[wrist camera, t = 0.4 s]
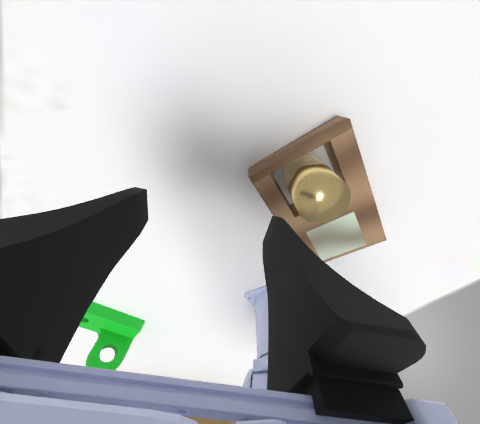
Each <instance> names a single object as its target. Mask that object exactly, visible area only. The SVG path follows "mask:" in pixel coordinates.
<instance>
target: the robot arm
mask: <svg viewBox="0 0 480 424" xmlns="http://www.w3.org/2000/svg"><path fill="white" fill-rule="evenodd" d="M147 221H148V206H147V190H146V189H141V188H137V187H134V188H130V189H126V190H123V191H120V192H116V193H113V194H110V195H107V196H104V197H101V198H98V199H94V200H91V201H87V202H84V203H80V204H77V205H73V206H69V207H65V208H61V209H56V210H51V211H47V212H42V213H36V214H30V215H24V216H18V217H12V218H5V219H0V424H198V423H197V421H194V420H192V419H189V418H187V417H184V416H190V417H199V418H207V419H216V420H225V421H234V422H236V423H235V424H459V423H458V422H457V421H456V419H455V417H454V416H453V414H452V413H451V411H450V409H449V408H448V406H447V405H446V404H444V403H442V402H435V401H428V400H420V399H406V400H404V399H403V397H402V395H401V393H400V391H399V389H398V388H403V383H402V381H401V379H400V377H399V376H398V374H397V373H398V372H400V371H402V370H404V369H405V368H407V367H409V366H411V365H412V364H414V363H416V362H417V361H418V360H420V359H421V358H422V357H423V356H424V354H425V351H426V345H425V344H424V342H423V341H422V339H421V338H420V336H419V335H418V333H417V332H416V330H415V329H414V328H413V326H412V325H411V323H410V322H409V320H408V319H407V318H405V317H404V316H402V315H400V314H398V313H397V312H395V311H393V310H392V309H390V308H388V307H386V306H385V305H383V304H381V303H380V302H378V301H376V300H375V299H373V298H372V297H370V296H369V295H367V294H366V293H364V292H363V291H361V290H360V289H358V288H357V287H355V286H354V285H352V284H351V283H350V282H348V281H347V280H346V279H344V278H343V277H342V276H340V275H339V274H338V273H337V272H335V271H334V270H333V269H332V268H330V267H329V266H328V265H327V264H326V263H325V262H324V261H322V260H321V259H320V258H319V257H318V256H317V255H316V254H315V253H314V252H313V251H312V250H311V249H310V248H309V247H308V246H307V245H306V244H305V243H304V242H303V240H302V239H301V238H300V237H299V236H298V235H297V234H296V232H295V231H294V230H293V229H292V228H291V226H290V225H289V224H288V223H287V222H286V221H285V220H284V219H283V218H282V217H277V216H272V219H271V221H270V224H269V227H268V229H267V232H266V235H265V238H264V240H263V264H264V272H265V279H266V286H264V287H261V288H258V289H255V290H253V291H250V292H247V293H245V297H246V298H247V299H248V300H249V301H250V302H251V303H252V304H253V305H254V306H255V307H256V336H257V359H254V360H253V369H250V370H249V371H248V373H247V375H246V377H245V380H244V384H243V387H241V386H233V385H225V384H217V383H209V382H202V381H194V380H186V379H178V378H171V377H163V376H155V375H147V374H140V373H132V372H124V371H116V370H108V369H101V368H93V367H85V366H77V365H70V364H62V363H60V361H61V359H62V357H63V355H64V353H65V351H66V349H67V347H68V345H69V343H70V341H71V339H72V337H73V335H74V333H75V332H76V330H77V328H78V326H79V324H80V323H81V321H82V319H83V317H84V315H85V314H86V312H87V310H88V308H89V306H90V305H91V303H92V301H93V300H94V298H95V296H96V295H97V293H98V291H99V290H100V288H101V286H102V285H103V283H104V282H105V280H106V279H107V277H108V275H109V274H110V272H111V271H112V269H113V268H114V267H115V265H116V264H117V263H118V262H119V260H120V259H121V258H122V256H123V255H124V254H125V253H126V251H127V250H128V249H129V248H130V246H131V245H132V244H133V243H134V241H135V240H136V239H137V237H138V236H139V235H140V233H141V232H142V230H143V228H144V226H145V225H146V223H147Z"/></svg>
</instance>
